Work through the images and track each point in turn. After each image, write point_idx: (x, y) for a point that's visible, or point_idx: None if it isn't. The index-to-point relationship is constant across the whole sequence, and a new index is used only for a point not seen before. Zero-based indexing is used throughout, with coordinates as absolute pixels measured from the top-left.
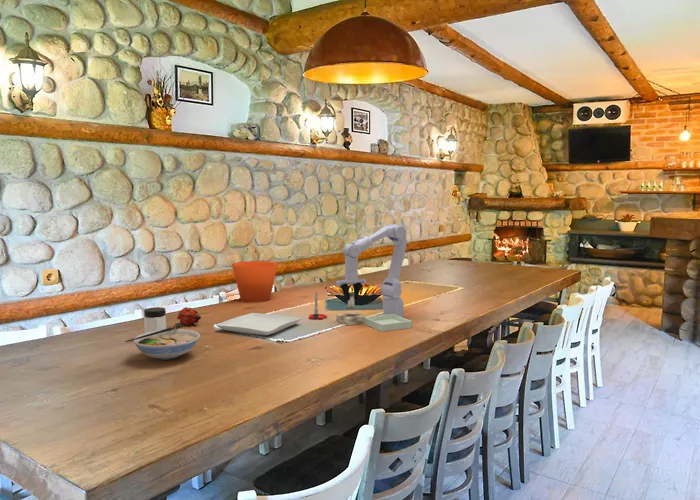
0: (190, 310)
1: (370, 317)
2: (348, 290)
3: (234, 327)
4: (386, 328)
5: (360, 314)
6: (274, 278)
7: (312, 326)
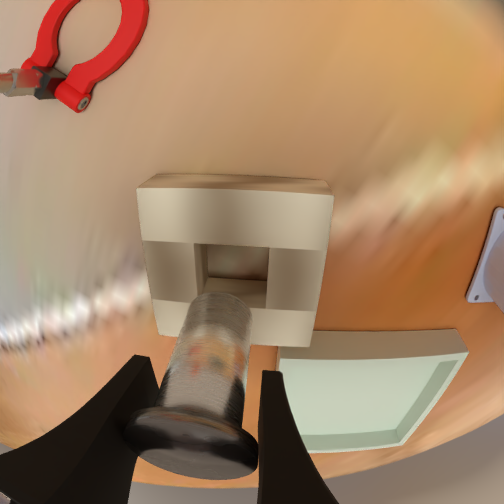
0: None
1: (321, 365)
2: (121, 497)
3: None
4: None
5: (316, 287)
6: None
7: (18, 237)
